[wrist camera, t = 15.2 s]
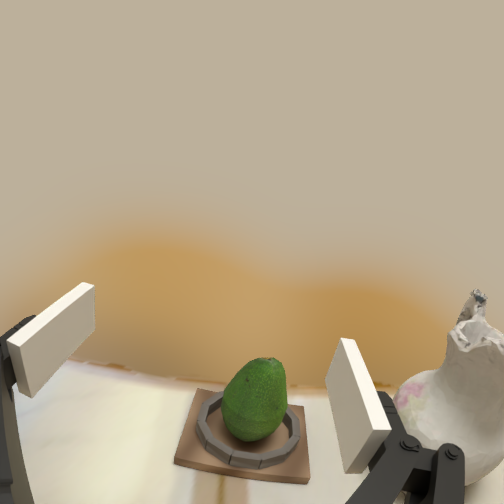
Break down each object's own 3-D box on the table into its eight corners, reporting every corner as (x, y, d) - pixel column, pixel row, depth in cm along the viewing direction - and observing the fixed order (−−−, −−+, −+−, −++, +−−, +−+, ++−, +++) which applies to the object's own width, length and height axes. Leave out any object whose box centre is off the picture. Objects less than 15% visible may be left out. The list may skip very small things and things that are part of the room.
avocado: (286, 429, 39) (311, 360, 36) (255, 463, 32) (278, 392, 29) (238, 404, 43) (254, 334, 40) (203, 431, 36) (214, 357, 33)
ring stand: (174, 463, 31) (174, 447, 30) (196, 395, 45) (198, 377, 44) (306, 484, 31) (315, 468, 30) (301, 413, 44) (307, 396, 44)
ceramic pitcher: (351, 419, 45) (395, 275, 39) (448, 412, 45) (499, 285, 38) (378, 528, 25) (484, 366, 18) (495, 497, 24) (590, 350, 18)
